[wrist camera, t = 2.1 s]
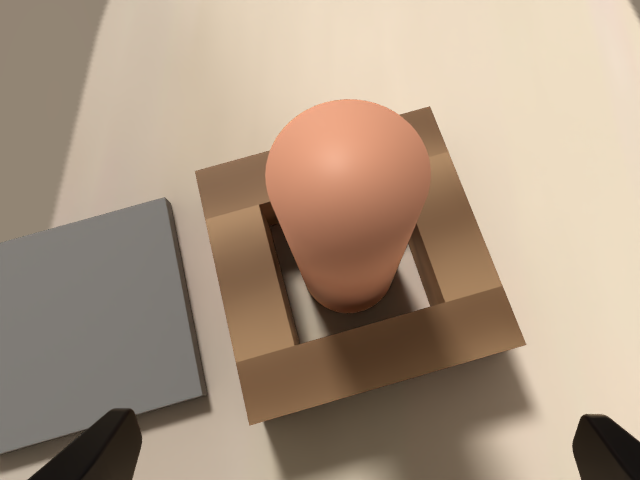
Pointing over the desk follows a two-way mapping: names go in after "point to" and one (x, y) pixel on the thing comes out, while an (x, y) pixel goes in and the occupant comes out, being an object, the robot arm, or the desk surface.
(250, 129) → the desk surface
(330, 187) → the terracotta peg
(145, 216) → the rubber mat
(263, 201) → the walnut pocket block
